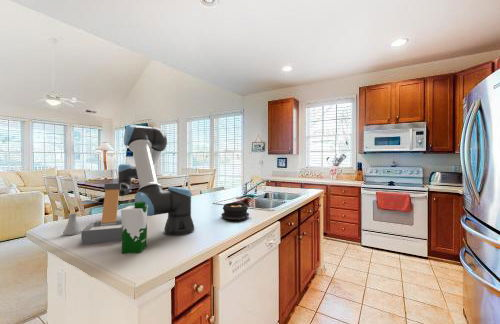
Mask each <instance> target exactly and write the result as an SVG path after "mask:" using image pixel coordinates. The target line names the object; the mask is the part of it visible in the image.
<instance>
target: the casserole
mask: <svg viewBox="0 0 500 324" xmlns="http://www.w3.org/2000/svg"><path fill="white" fill-rule="evenodd" d="M248 209H249V207H248V205H247V204H246V203H244V202H243V203H242V202H228V203H224V205H223V207H222V210H223V212H222V213H221V214H220V215H221V217H222V218H225V219H226V220H236V221H237V220H245V219H246V218H247V217H249V216H250V213H249V212H247V211H248Z"/></svg>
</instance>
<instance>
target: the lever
mask: <svg viewBox="0 0 500 324" xmlns="http://www.w3.org/2000/svg"><path fill="white" fill-rule="evenodd" d="M103 190H104V191H105V192H104V198H103V205H102V206H103V207H102V215H101V223H102V224H106V223H116V221H117V220H118V219H117V217H118V209H119V208H118V207H119V198H120V196H119V191H121V184H120V183H118V182H117V183H104V187H103Z"/></svg>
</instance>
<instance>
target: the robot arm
mask: <svg viewBox="0 0 500 324" xmlns="http://www.w3.org/2000/svg"><path fill="white" fill-rule="evenodd" d="M167 144H168V138H167V134H165V132H164V131H163V130H162V129H160V128H158V127H156V126H148V125H146V126H145V125H137V124H128V125H127V126H126V127H125V130H124V135H123V146H125V147H128V149H129V150H130V152H132V154H133V158H134V159H133V160H134V165H135V166H132V164H127V163H124V164H123V163H122V164H119V165H118V170H117V174H118V175H117V176H118V177H117V179H118V180H117V184H118V183H120V184H121V191H119V197H123V196H126V195H128V194H132V187H133V186H132V183H131V182H132V179H135V178H136V179H138V185H139V188H138V189H137V192H136V193H135V194H134V203H135V202H141V201H143V202H145V205H146V206H148V208H147V217H152V216H157V215H163V214H165V215H166V214H167V219H166V222H165V226H164V229H163V230H164V231H163V233H165V235H168V236H183V235H187V234H190V233H192V232H194V231H195V223H194V221H193V218H192V191H191V189H190V188H187V187H179V186H168V188H167V189H166V190H165V189H164V188H163V186H162V184H159V183H158V178H157V174H156V170H155V165H156V163H157V160H158V159H159V157H160V155H161V153H162V152H163V151H165V150H166V147H167ZM163 189H164V190H163Z"/></svg>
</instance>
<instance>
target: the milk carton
mask: <svg viewBox="0 0 500 324" xmlns="http://www.w3.org/2000/svg"><path fill="white" fill-rule="evenodd" d="M147 208H148V206H146V205H145V202H143V201H141V202H135V201H134V205H128V206H126V207H124V208H121V209H120V214H121V219H122V241H121V254H123V255H125V254H141V253H142V252H143V251H144V250H145V249H146V247H147V242H148V241H147V238H148V236H147V235H148V234H147V233H148V216H147Z"/></svg>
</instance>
